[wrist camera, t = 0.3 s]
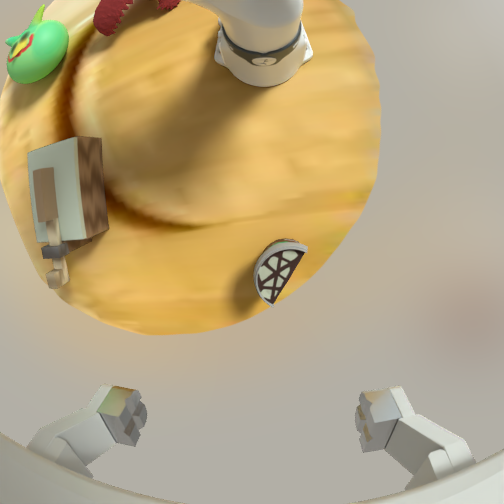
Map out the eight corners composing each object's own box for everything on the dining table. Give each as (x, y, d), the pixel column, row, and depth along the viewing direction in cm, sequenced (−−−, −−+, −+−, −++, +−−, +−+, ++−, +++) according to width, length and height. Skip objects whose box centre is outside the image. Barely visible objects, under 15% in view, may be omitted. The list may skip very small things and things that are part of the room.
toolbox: (56, 150, 53) (17, 152, 40) (101, 138, 52) (63, 135, 39) (66, 242, 59) (30, 259, 46) (110, 239, 58) (76, 258, 45)
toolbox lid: (34, 152, 45) (14, 153, 39) (80, 137, 44) (60, 136, 38) (43, 239, 51) (25, 247, 45) (89, 236, 50) (71, 244, 44)
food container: (274, 220, 55) (275, 231, 45) (302, 235, 55) (309, 249, 46) (244, 273, 58) (239, 294, 49) (271, 287, 59) (271, 310, 49)
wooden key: (49, 218, 46) (35, 223, 42) (57, 217, 46) (43, 222, 42) (61, 280, 50) (49, 288, 46) (70, 280, 50) (57, 288, 46)
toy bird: (31, 98, 49) (-8, 92, 35) (30, 50, 44) (-4, 40, 30) (81, 63, 46) (42, 48, 32) (78, 16, 42) (46, -4, 28)
